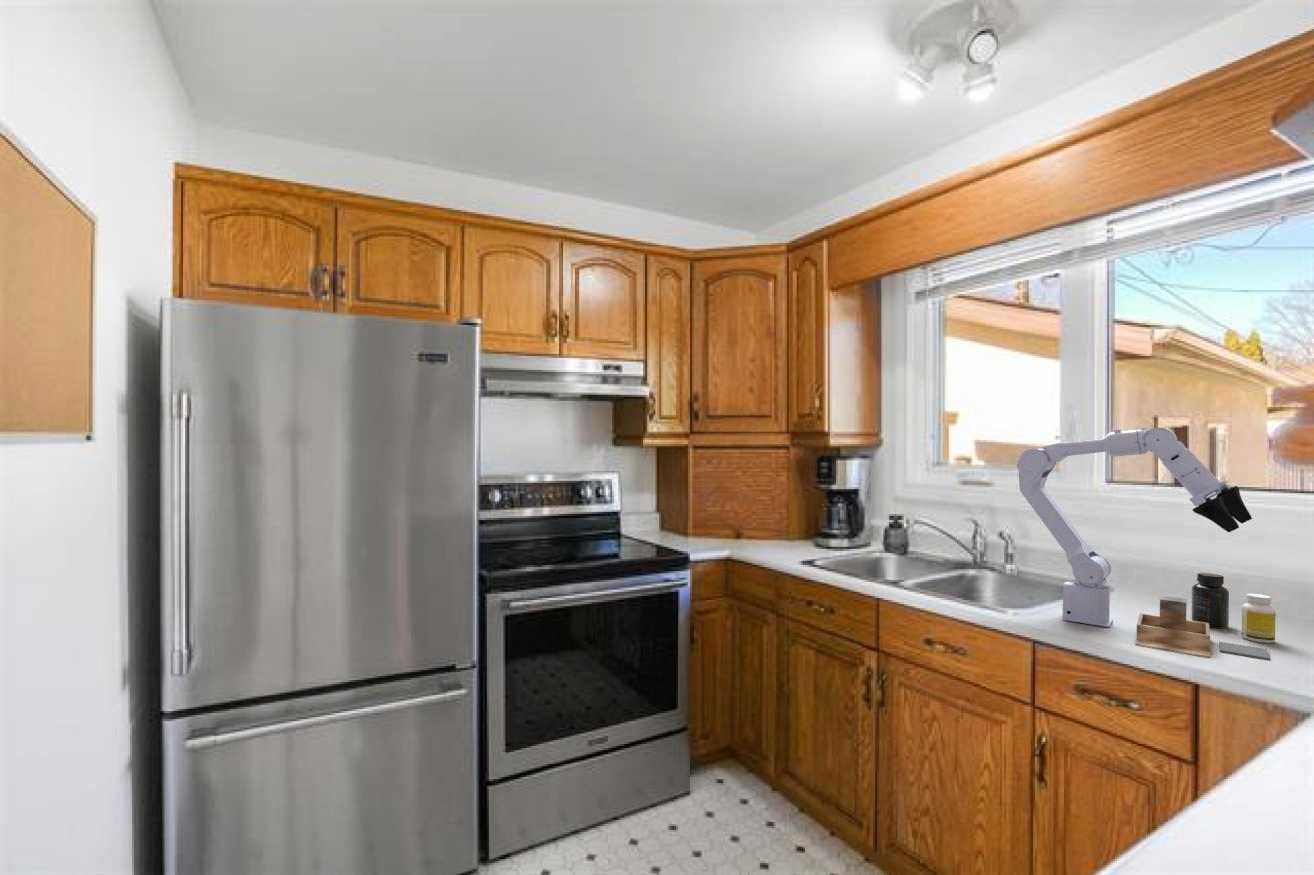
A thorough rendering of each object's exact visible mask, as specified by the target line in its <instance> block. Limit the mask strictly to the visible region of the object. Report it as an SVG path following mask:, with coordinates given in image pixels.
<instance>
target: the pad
mask: <svg viewBox="0 0 1314 875" xmlns="http://www.w3.org/2000/svg"><path fill="white" fill-rule="evenodd" d="M1218 646H1219V652H1220V653H1223V654H1224V653H1225V654H1230V655H1231V654H1232V655H1238V656H1243V657H1249V658H1254V659H1260V660H1267V661H1271V660H1270V659H1271V658H1270V656H1269V655H1270V654H1269V652H1268V649H1267V648H1263V647H1257V646H1251V645H1245V644H1244V645H1243V644H1238V643H1231V642H1226V641H1218Z"/></svg>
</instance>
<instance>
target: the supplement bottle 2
mask: <svg viewBox="0 0 1314 875" xmlns="http://www.w3.org/2000/svg"><path fill="white" fill-rule="evenodd" d="M1246 601H1247V602H1246V603H1243V605H1242V607H1241V637H1242V638H1243V639H1245V640H1247V641H1248V640H1249V641H1252V642H1255V643H1263V644H1265V643H1267V644H1272V643H1275V642H1276V641H1275V640H1276V610H1275V608H1274V607H1272V605H1271V604H1272V597H1271V596H1270V595H1265V594H1260V593H1247V594H1246Z"/></svg>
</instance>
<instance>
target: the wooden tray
mask: <svg viewBox="0 0 1314 875" xmlns="http://www.w3.org/2000/svg"><path fill="white" fill-rule="evenodd" d="M1134 644H1135V646H1138V647H1146V648H1151V649H1156V650H1163V651H1167V652H1168V651H1169V652H1175V653H1180V654H1187V655H1190V656H1191V655H1192V656H1196V657H1197V656H1198V657H1203V658H1211V630H1210V627H1209V623H1204V622H1197V621H1192V620H1187V619H1186V632H1185V631H1179V630H1172V629H1166V628H1160V615H1156V614H1155V615H1154V614H1149V613H1144V612H1143V613H1139V617H1138V619H1137V622H1136V640H1135V643H1134Z"/></svg>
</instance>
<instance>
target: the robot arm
mask: <svg viewBox="0 0 1314 875" xmlns="http://www.w3.org/2000/svg"><path fill="white" fill-rule="evenodd" d="M1148 452H1150V453H1153V454H1154V455H1155V456H1156V457H1157V458H1158V459H1159V460H1160V461H1161V462H1162V465H1163V466H1164V467H1165V468H1166V469H1167V470H1168V471H1169V472H1170V474H1171V475H1172V476H1173V477H1174V478H1175V479H1176V481H1178V482H1179V483H1180V485H1182V486H1183V488H1185V490H1186V491H1187V492H1188V493H1189V494H1190V495H1191V496H1192V497H1190V498H1189V501H1190V502H1191V503H1192V504H1193V505H1194V508H1192V509H1191V510H1192V512H1193V513H1195V514H1197V515H1199V516H1202V517H1204V518H1205V519H1208V520H1210V521H1212V522H1213V523H1214V524H1215V525H1217V526H1218V527H1220V528H1221V529H1222V530H1224V531H1226V533H1227V532H1228V533H1231V532H1233V531H1236V530H1237V529H1239V528H1240V526H1239V523H1240V524H1244V523H1246V522H1249V521H1251V520H1252V519H1253V517H1252V515H1251V513H1250V512H1249V510H1248V509H1247V507H1246V505H1245V502H1244V501H1243V499H1242V496H1241V492H1240V488H1239V487H1238V486H1237V485H1234V486H1232V487H1231V486H1230V485H1229V484H1228V483H1229V481H1228V480H1227V479H1224V480H1221V481H1220V480H1219V478H1217V477H1216V476H1215V475H1214V474H1213V473H1212V471H1210V469H1208V467H1206V465H1205V464H1204V463H1203V462H1201V460H1200V459H1199V458H1198V457H1197V456H1196V455H1195V454H1194V453H1193V452H1192V451H1191V450H1190V449H1189V448H1187V447H1186V446H1185V444H1184V443H1183V442H1181V441H1180V440H1178V437H1177V435H1176V433H1175V432H1174V431H1173V430H1171V429H1169V428H1165V427H1154V428H1150V429H1149V430H1148V428H1147V427H1146V426H1145V427H1144V426H1143V427H1140V429H1135V430H1126V431H1123V430H1122V429H1114V430H1113V432H1109V433H1107V434H1106V436H1105V437H1103V438H1102V439H1091V440H1081V441H1079V440H1078V441H1066V442H1056V443H1051V444H1046V445H1042V446H1039V447H1038V448H1034V447H1033V448H1028V449H1026V450H1024V451H1023V452H1022V453H1021V454H1020V456H1019V459H1018V461H1017V464H1016V468H1017V471H1018V484H1019V491H1020V493H1021V495H1022V496H1023V497H1024V498H1025V499H1026V502H1027V503H1028V504H1029V505H1030V506H1031V508H1032V509H1033V510H1034V512H1035V514H1037V515H1038V517H1039V518H1040V520H1041V521H1042V522H1043V524H1044V525H1045V527H1046V528H1047V530H1048V531H1049V532H1050V534H1051V535H1052V536H1053V538H1054V539H1055V541H1056V542H1057V543H1058V544H1059V546H1060V547H1061V548H1062V550H1063V551H1064V554H1065V555H1066V556H1065V557H1066V559H1067V562H1068V563H1069V565H1070V566H1071V569H1072V575H1073V577H1074V578H1075V579H1073V582H1072V581H1064V583H1063V588H1062V589H1063V591H1062V606H1061V607H1062V609H1061V610H1062V617H1061V619H1062V620H1063V621H1069V622H1073V623H1078V624H1079V623H1080V624H1086V625H1091V626H1099V627H1103V628H1104V627H1105V628H1110V627H1111V625H1112V624H1113V618H1111V617H1110V611H1111V610H1110V606H1111V605H1110V602H1111V598H1110V597H1111V594H1110V593H1111V591H1110V589H1111V585H1110V583H1109V582H1108V580H1107V578H1108V577H1109V576H1110V574H1111V571H1112V567H1111V564H1110V562H1109V561H1108V559H1106V557H1105V556H1102V555H1100V554H1099V553H1097V552H1096V551H1095V549H1094V548H1093V547H1092V546H1091V545H1090V544H1088V542H1086V541H1085V540H1084V539H1083V537H1082V536H1081V534H1080V533H1079V532H1078V530H1076V528H1075V527H1074V525H1073V524H1072V522H1070V520H1069V518H1068V517H1067V516H1066V515H1065V513H1064V512H1063V511H1062V509H1061V508H1060V507H1059V506H1058V504H1057V502H1055V500H1054V499H1053V497H1052V495H1050V494H1049V492H1047V491H1048V490H1046V488H1045V486H1046V482H1047V480H1048V476H1049V474H1050V473H1052V471H1053V469H1054V468H1055V466H1056V464H1057V463H1060V462H1062V461H1064V460H1065V459H1067V458H1068V457H1071V456H1079V455H1080V456H1081V455H1087V454H1089V455H1090V454H1096V453H1097V454H1099V453H1106V454H1108V455H1109V456H1111V457H1114V458H1115V457H1117V458H1118V457H1126V456H1127V457H1128V456H1137V455H1146V454H1147V453H1148ZM1213 497H1214V498H1213Z"/></svg>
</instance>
